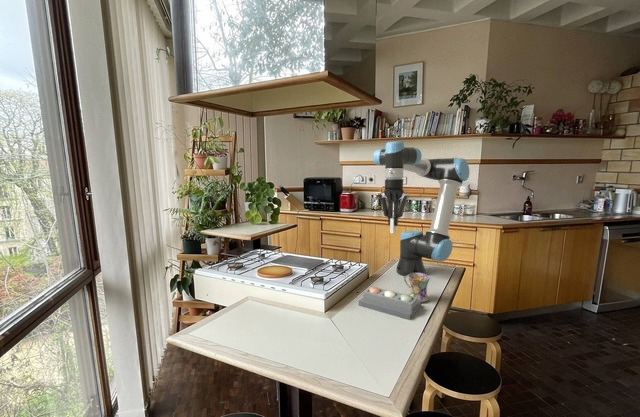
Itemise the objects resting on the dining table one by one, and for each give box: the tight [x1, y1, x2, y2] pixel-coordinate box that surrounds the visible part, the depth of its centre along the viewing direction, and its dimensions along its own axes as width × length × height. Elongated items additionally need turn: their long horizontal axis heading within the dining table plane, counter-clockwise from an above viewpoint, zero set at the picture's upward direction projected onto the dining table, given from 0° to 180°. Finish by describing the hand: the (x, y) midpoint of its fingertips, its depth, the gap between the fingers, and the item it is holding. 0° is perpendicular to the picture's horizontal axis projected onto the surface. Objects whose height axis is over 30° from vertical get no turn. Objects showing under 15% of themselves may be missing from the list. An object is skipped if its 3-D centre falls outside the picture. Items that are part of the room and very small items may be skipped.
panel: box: [358, 285, 422, 321], centre depth 129 cm, size 14×22×5 cm, turn 54°
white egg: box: [385, 290, 396, 298], centre depth 129 cm, size 4×4×4 cm
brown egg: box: [369, 286, 380, 294], centre depth 133 cm, size 4×4×4 cm
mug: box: [403, 273, 431, 303], centre depth 135 cm, size 12×9×11 cm
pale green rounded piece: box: [401, 293, 412, 302], centre depth 125 cm, size 4×4×4 cm
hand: (392, 232), depth 134 cm, fingers closed
